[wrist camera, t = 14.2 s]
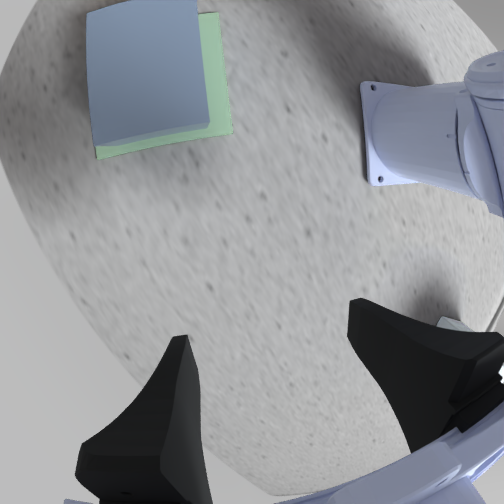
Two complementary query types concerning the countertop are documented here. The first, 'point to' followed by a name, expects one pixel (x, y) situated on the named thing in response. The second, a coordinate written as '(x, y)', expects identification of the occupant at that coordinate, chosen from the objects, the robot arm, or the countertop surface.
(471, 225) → the countertop surface
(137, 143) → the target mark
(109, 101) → the grey-blue rectangular brick
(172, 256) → the countertop surface
